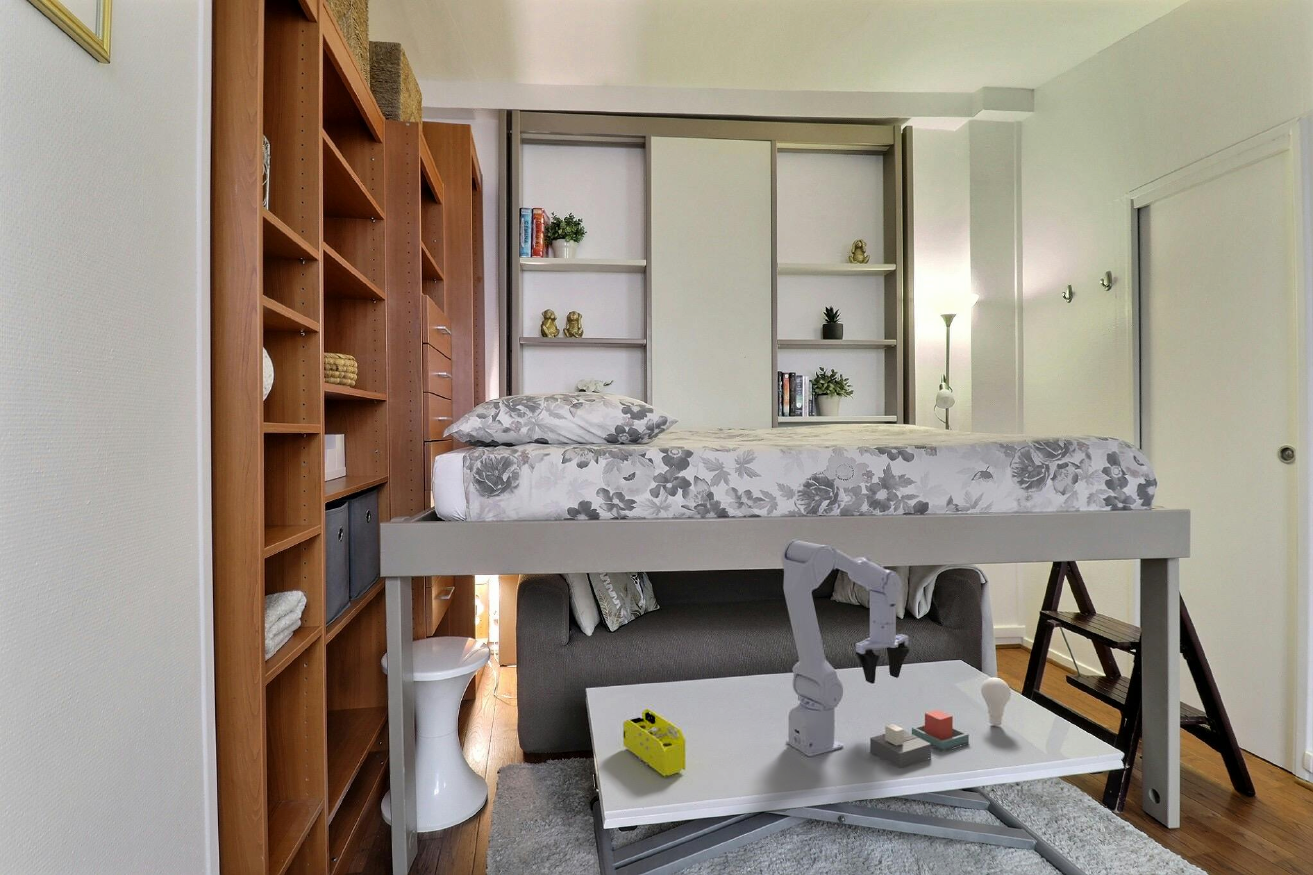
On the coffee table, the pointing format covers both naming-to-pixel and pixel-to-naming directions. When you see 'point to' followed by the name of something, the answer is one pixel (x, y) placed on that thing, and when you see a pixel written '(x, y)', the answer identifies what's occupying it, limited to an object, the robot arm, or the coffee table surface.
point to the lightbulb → (995, 698)
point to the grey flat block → (901, 750)
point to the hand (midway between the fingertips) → (882, 679)
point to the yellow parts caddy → (655, 742)
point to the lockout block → (939, 724)
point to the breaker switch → (894, 734)
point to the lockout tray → (942, 745)
